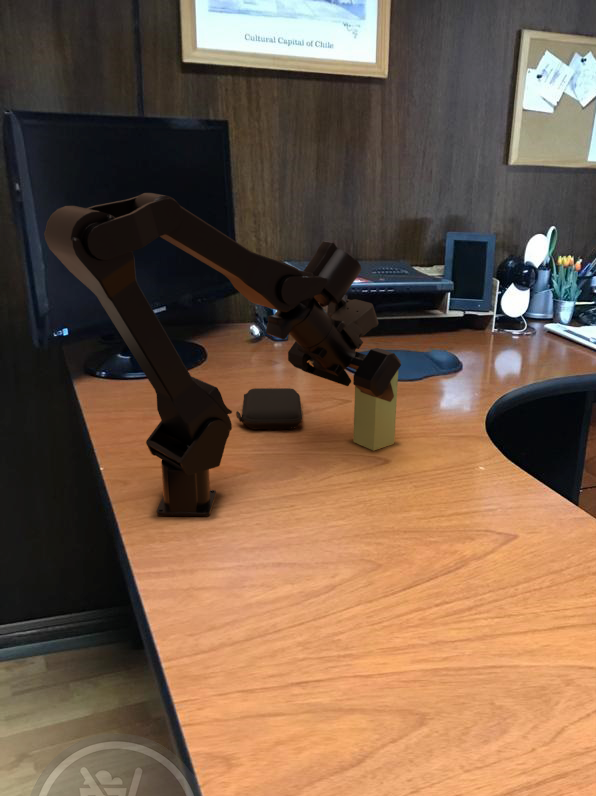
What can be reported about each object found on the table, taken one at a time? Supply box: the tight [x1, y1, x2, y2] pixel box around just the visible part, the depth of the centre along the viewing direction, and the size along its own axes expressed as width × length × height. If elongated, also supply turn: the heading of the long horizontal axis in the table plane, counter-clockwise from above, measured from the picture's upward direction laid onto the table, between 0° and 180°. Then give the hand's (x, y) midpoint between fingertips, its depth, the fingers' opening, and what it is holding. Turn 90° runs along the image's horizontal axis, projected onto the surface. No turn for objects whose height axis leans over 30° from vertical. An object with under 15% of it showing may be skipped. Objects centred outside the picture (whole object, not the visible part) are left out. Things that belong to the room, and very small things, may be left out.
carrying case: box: [235, 387, 303, 430], centre depth 129 cm, size 11×3×15 cm
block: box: [352, 370, 399, 452], centre depth 118 cm, size 5×5×13 cm
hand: (369, 391), depth 117 cm, fingers open, 9 cm apart
